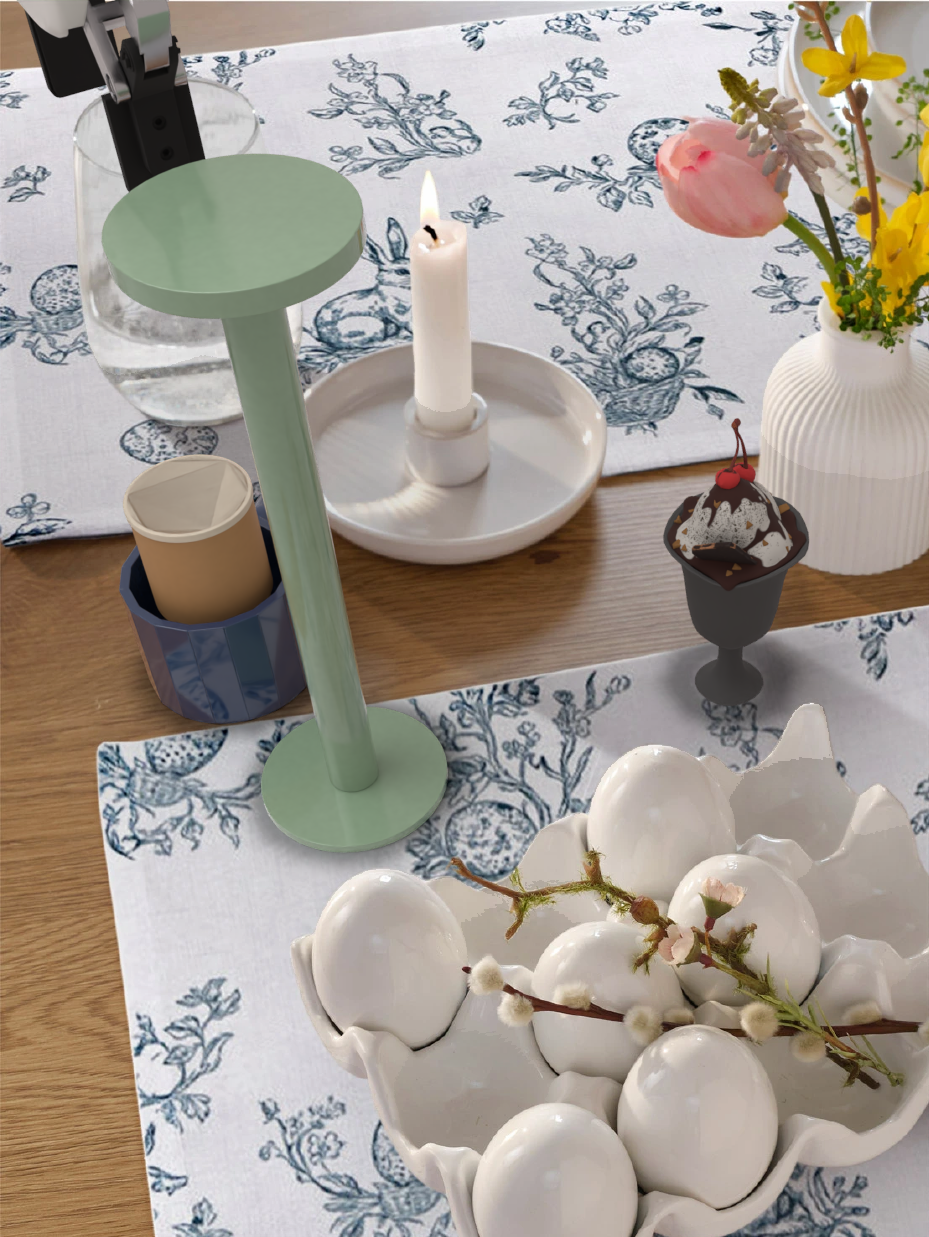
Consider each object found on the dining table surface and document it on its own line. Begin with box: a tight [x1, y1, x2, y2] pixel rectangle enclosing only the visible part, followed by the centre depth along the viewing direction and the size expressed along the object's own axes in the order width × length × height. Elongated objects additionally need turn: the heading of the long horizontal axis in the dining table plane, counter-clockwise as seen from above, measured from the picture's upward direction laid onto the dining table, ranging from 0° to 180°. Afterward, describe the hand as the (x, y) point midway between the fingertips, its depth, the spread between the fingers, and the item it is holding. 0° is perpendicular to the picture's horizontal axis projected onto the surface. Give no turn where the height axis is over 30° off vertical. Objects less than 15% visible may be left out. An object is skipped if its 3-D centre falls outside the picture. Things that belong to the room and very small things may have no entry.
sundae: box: [662, 417, 810, 707], centre depth 77 cm, size 7×7×15 cm
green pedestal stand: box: [100, 153, 449, 854], centre depth 67 cm, size 9×9×30 cm
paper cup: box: [122, 453, 273, 625], centre depth 80 cm, size 6×6×11 cm
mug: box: [118, 493, 308, 725], centre depth 83 cm, size 12×9×7 cm
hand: (126, 134), depth 66 cm, fingers open, 9 cm apart
